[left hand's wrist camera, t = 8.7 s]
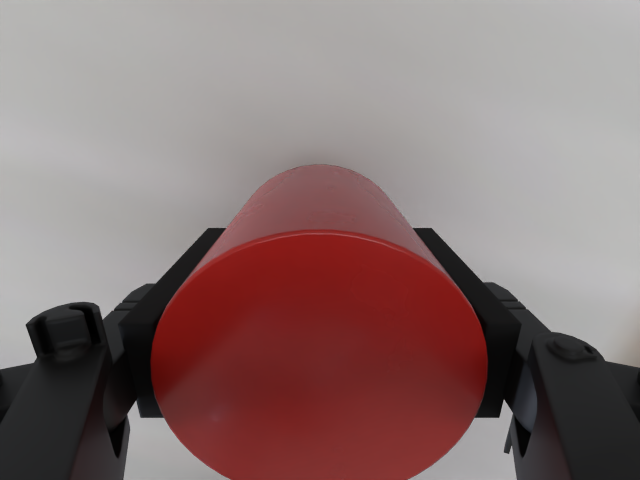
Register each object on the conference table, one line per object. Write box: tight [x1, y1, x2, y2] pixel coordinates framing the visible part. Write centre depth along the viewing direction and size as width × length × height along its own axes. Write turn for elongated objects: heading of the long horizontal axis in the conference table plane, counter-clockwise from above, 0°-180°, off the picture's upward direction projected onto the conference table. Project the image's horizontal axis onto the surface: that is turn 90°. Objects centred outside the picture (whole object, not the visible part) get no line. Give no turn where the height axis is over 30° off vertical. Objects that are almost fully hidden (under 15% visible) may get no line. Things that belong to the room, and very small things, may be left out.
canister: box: [150, 165, 488, 480], centre depth 11 cm, size 7×7×8 cm
